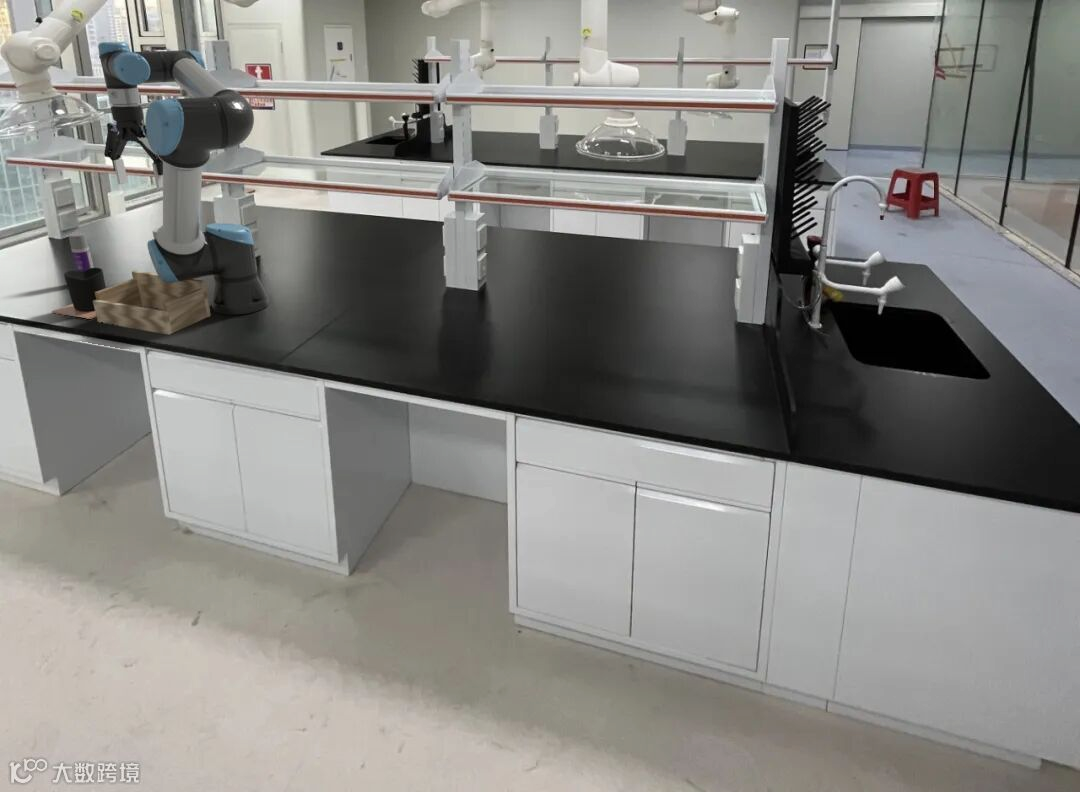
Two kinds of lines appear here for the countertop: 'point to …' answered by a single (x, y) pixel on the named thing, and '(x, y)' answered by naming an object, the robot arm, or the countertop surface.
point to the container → (80, 251)
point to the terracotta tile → (75, 312)
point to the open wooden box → (152, 303)
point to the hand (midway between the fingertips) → (142, 185)
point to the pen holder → (84, 287)
